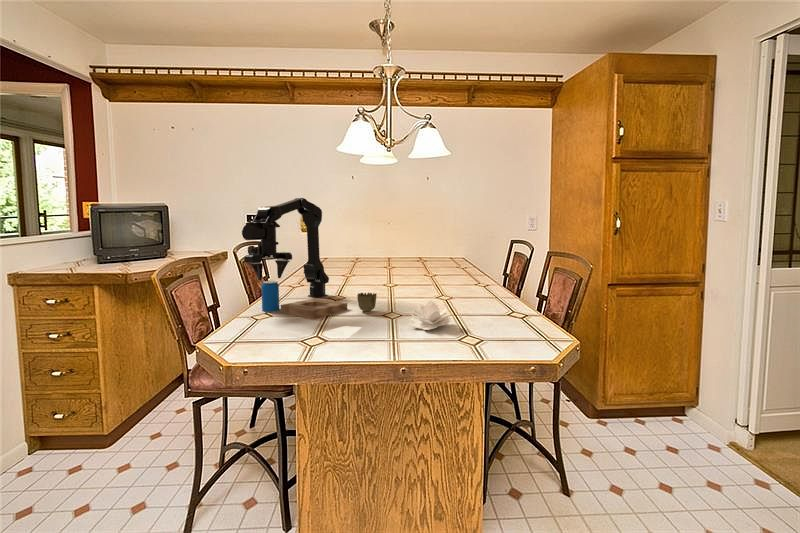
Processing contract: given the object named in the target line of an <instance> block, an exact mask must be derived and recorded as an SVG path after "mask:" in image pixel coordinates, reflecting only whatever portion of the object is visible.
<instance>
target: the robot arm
mask: <svg viewBox="0 0 800 533" xmlns="http://www.w3.org/2000/svg"><path fill="white" fill-rule="evenodd" d="M296 210H297V213H298V214H299V215H301V217H302V221H303V223H304V225H305V227H306V238H307V239H306V240H307V262H306V263H305V264H304V263H303V274H304V278H305V280H306V283H307V284H308V283H309V294H308V295H307V297H309V298H310V297H311V298H316V299H320V298H323V297H328V296H329V294H326V284H329V280H330V278H329V276H328V274H327V273H326V271H325V268H324V264H323V263H322V261H321V258H320V256H321V255H320V237H319V236H320V234H319V230H320V229H319V227H320V225H321V223H322V220H323V219H322V218H323V210H322V209H321V208H320V207H319V206H317V204H314V203H312V202H311V201H309V200H307V199H306V198H304V197H295V198H294V199H291V200H288V201H286V202H283V203H280V204H276V205H267V206H260V207H258V209H257V212H256V214H255V216H254V218H253V219H252V221H245V225H244V226H243V228H242V230H241V235H242V237H243V240H246V241H258V246H254V245H249V246H247V254H245V256H244V258H243V260H244V263H247V265H249V266H251V267H252V269H253V270H254V272H255V275H256V278H257V280H258V281H259V282H261V281H262V278H263V267H264V262H263V263H262V261H269V260H270V261H271V260H274V262H275V263H276V268H277V269H276V270H277V279H281V278H282V276H283V274H284V271H285V269H286V267H287V265H288V264H289V263H290V262H291V260H293V255H292V253H291V252H288V251H280V252H277V246H278V245H279V241H277V228H280V227H281V225H280V224H279V223H277V221H278V220H279V219H281V218H282V216H283V215H286V214H288V213H291V212H294V211H296ZM259 240H260V241H259Z"/></svg>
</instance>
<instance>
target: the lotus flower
mask: <svg viewBox="0 0 800 533" xmlns="http://www.w3.org/2000/svg"><path fill="white" fill-rule="evenodd" d="M417 305H418V308H419V310H418V309H416V308H414V313H415V315H414V314H412V313H410V315H411V316H413V317H414V318H411V321H412V322H411V323H410V324H409V326H411V327H413V328H416V329H420V330H424V331H426V330H427V331H429V330H433V329H436V328H438V327H439V326H440V327H441V326H444V325H445V326H446V325H449V324H450V322H451V320H452V318H450V316H451V313H447V314H446V312H447V310H448V309H447V308H445V309H443V310H442V309H441V306H439V305H438V304H436V302H435V301H433V300H430V301H428V302H427V303H426V305H423V304H421V305H419V303H418V304H417Z"/></svg>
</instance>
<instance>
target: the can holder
mask: <svg viewBox="0 0 800 533" xmlns="http://www.w3.org/2000/svg"><path fill="white" fill-rule="evenodd" d="M347 310H348V303H347V302H341V301H335V300H329V299H323V298H316V297H314V298H310V299H305V300H300V301H294V302H289V303H285V304H284V303H283V304H280V313H281V314H285V315H289V316H290V315H291V316H295V317H300V318H303V317H304V319H308V320H312V321H313V320H317V318H318V319H320V318H323V317H327V316H330V315H333V314H337V313H341V312H344V311H347Z"/></svg>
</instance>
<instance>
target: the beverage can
mask: <svg viewBox="0 0 800 533" xmlns="http://www.w3.org/2000/svg"><path fill="white" fill-rule="evenodd" d="M261 311H262V312H263V311H264V312H263V313H274V312H278V311H280V285H279V283H278V281H276V280H265V281H262V284H261Z"/></svg>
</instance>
